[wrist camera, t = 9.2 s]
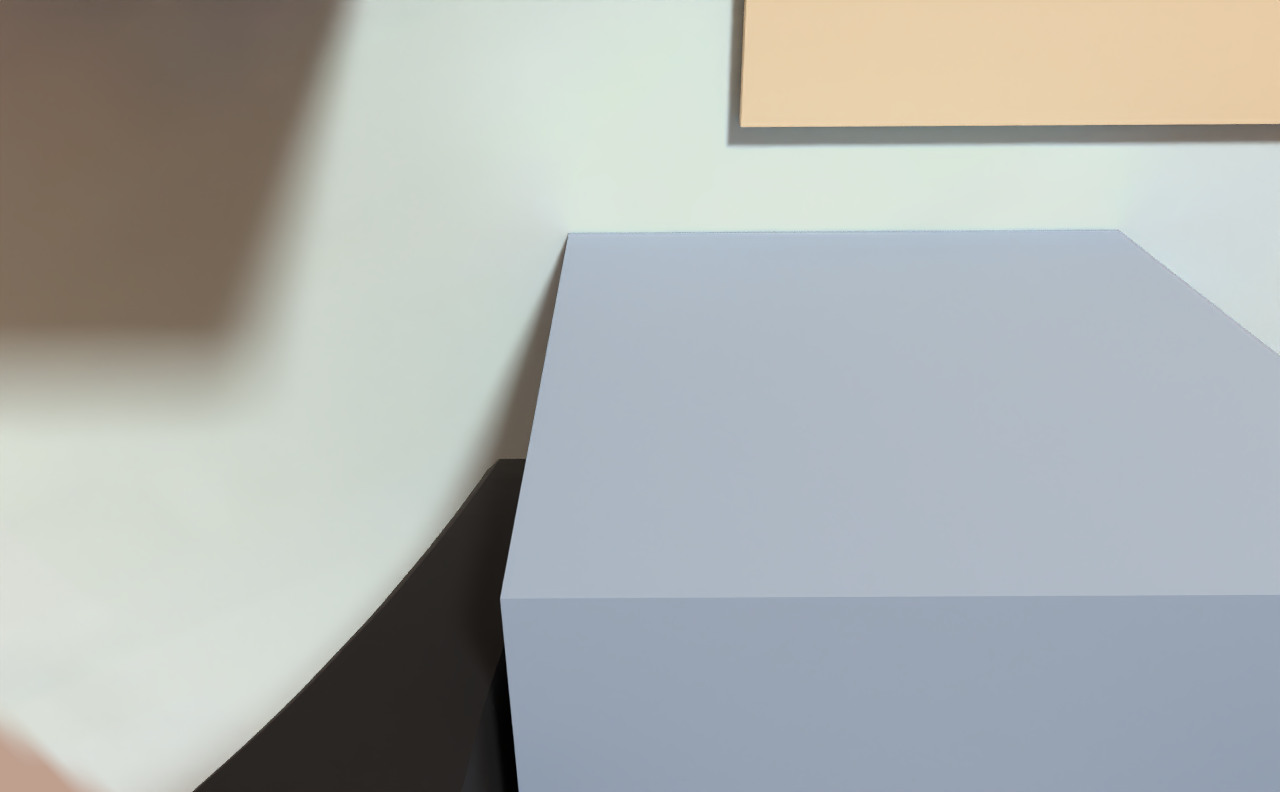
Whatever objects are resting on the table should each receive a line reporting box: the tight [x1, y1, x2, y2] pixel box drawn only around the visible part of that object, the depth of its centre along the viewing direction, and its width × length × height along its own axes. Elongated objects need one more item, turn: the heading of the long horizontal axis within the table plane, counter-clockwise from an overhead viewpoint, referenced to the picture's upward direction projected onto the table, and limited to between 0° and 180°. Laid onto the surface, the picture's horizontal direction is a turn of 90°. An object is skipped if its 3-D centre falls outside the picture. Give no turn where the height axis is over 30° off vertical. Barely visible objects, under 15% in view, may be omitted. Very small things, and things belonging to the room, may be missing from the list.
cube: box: [500, 230, 1280, 792], centre depth 8 cm, size 5×5×5 cm
